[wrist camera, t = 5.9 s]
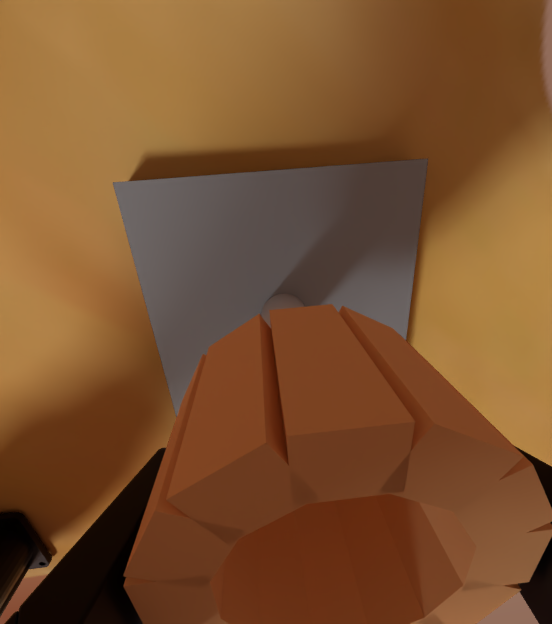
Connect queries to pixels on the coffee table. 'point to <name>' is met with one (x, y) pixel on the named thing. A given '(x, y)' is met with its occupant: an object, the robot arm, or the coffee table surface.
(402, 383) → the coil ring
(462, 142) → the coffee table surface
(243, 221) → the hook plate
